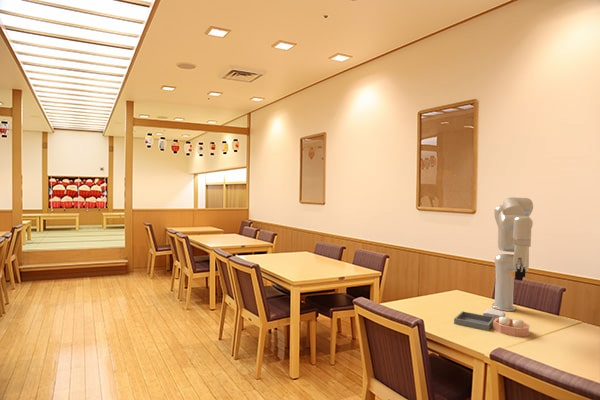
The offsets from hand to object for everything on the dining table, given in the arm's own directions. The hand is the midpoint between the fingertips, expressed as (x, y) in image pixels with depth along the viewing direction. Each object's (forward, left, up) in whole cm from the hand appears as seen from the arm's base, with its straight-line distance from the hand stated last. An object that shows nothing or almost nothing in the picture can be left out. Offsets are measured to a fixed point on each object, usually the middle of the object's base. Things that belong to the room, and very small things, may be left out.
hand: (520, 278), depth 192 cm
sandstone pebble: (0, 0, -25) cm, 25 cm away
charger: (-15, -12, -27) cm, 33 cm away
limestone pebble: (0, -6, -25) cm, 26 cm away
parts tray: (0, -19, -26) cm, 33 cm away
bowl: (0, -3, -26) cm, 26 cm away
